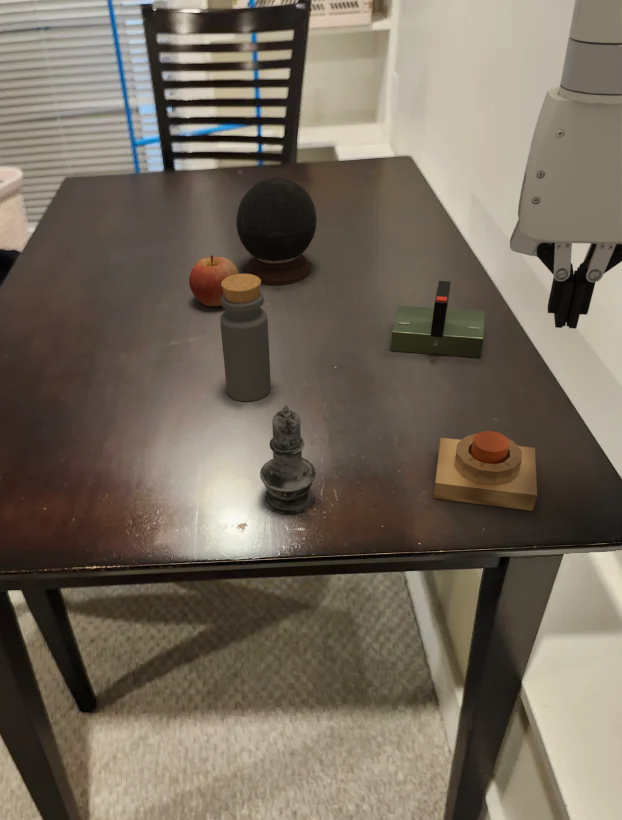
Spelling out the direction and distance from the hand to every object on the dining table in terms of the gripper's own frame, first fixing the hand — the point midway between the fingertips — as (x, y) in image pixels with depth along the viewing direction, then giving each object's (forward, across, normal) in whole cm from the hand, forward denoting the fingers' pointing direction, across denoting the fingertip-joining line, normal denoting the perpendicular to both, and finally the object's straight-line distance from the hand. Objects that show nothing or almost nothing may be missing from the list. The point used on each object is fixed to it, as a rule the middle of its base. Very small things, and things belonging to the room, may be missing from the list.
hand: (564, 320), depth 58 cm
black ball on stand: (+19, +39, -53) cm, 69 cm away
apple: (+19, +46, -40) cm, 64 cm away
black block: (+17, +11, -32) cm, 38 cm away
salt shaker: (+20, +24, +4) cm, 32 cm away
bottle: (+20, +34, -16) cm, 43 cm away
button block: (+21, +4, -3) cm, 21 cm away
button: (+17, +4, -3) cm, 18 cm away
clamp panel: (+20, +11, -32) cm, 39 cm away
